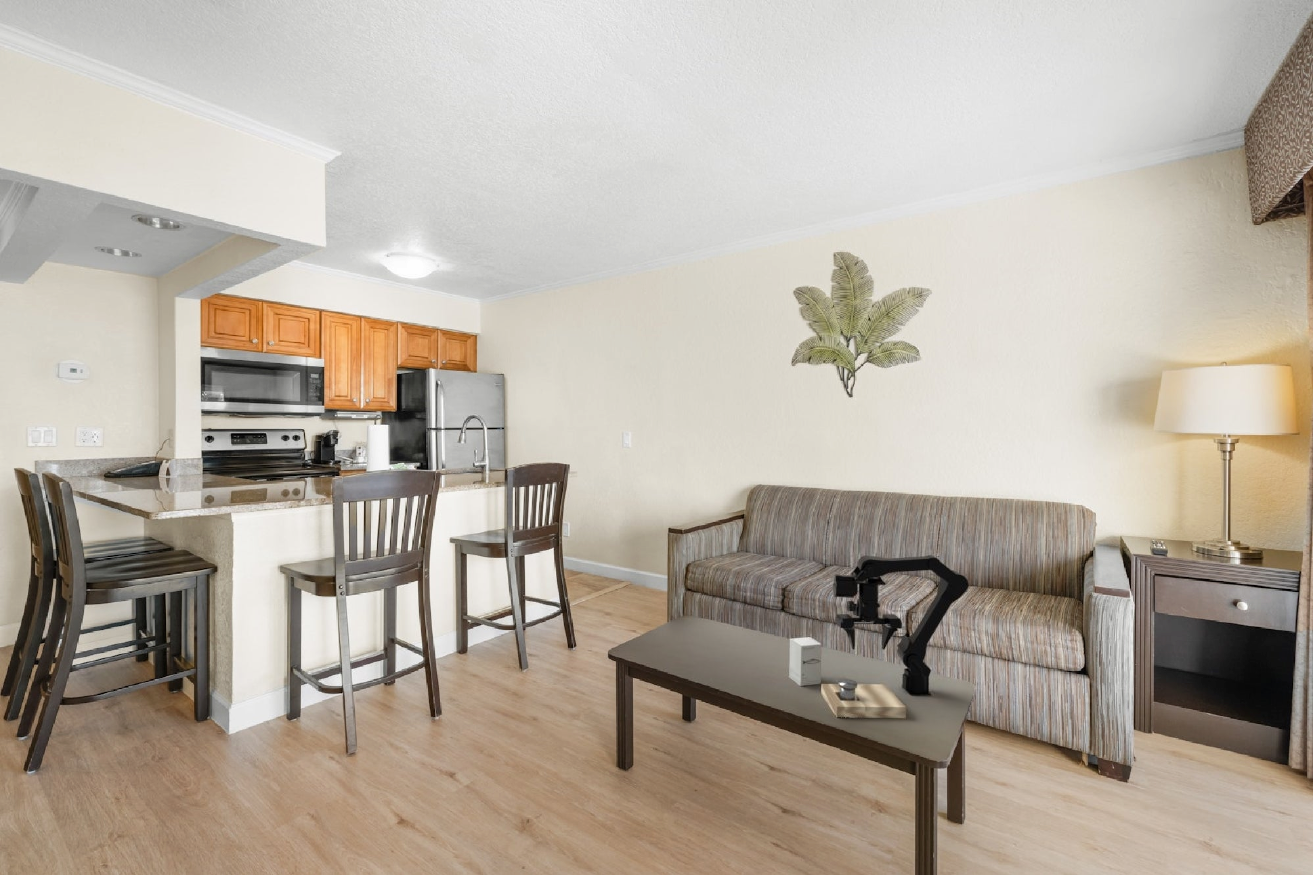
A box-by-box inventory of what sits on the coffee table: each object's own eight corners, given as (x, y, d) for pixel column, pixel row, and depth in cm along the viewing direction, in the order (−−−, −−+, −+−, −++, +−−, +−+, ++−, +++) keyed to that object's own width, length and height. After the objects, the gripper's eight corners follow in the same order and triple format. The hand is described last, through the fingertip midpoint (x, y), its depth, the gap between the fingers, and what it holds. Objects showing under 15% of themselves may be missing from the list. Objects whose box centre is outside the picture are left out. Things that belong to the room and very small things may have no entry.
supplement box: (800, 686, 183) (800, 645, 183) (788, 677, 190) (789, 637, 190) (821, 684, 185) (822, 643, 185) (809, 675, 192) (809, 636, 192)
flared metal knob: (853, 703, 172) (853, 678, 172) (859, 711, 167) (860, 686, 167) (835, 702, 172) (835, 678, 172) (841, 711, 167) (841, 686, 167)
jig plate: (884, 694, 178) (884, 684, 178) (906, 718, 163) (906, 707, 163) (821, 693, 178) (821, 683, 178) (836, 717, 163) (836, 706, 163)
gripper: (888, 591, 190) (887, 640, 190) (830, 591, 190) (829, 640, 190) (903, 601, 179) (902, 652, 179) (841, 600, 179) (841, 652, 179)
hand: (868, 649), depth 182 cm, fingers open, 9 cm apart
